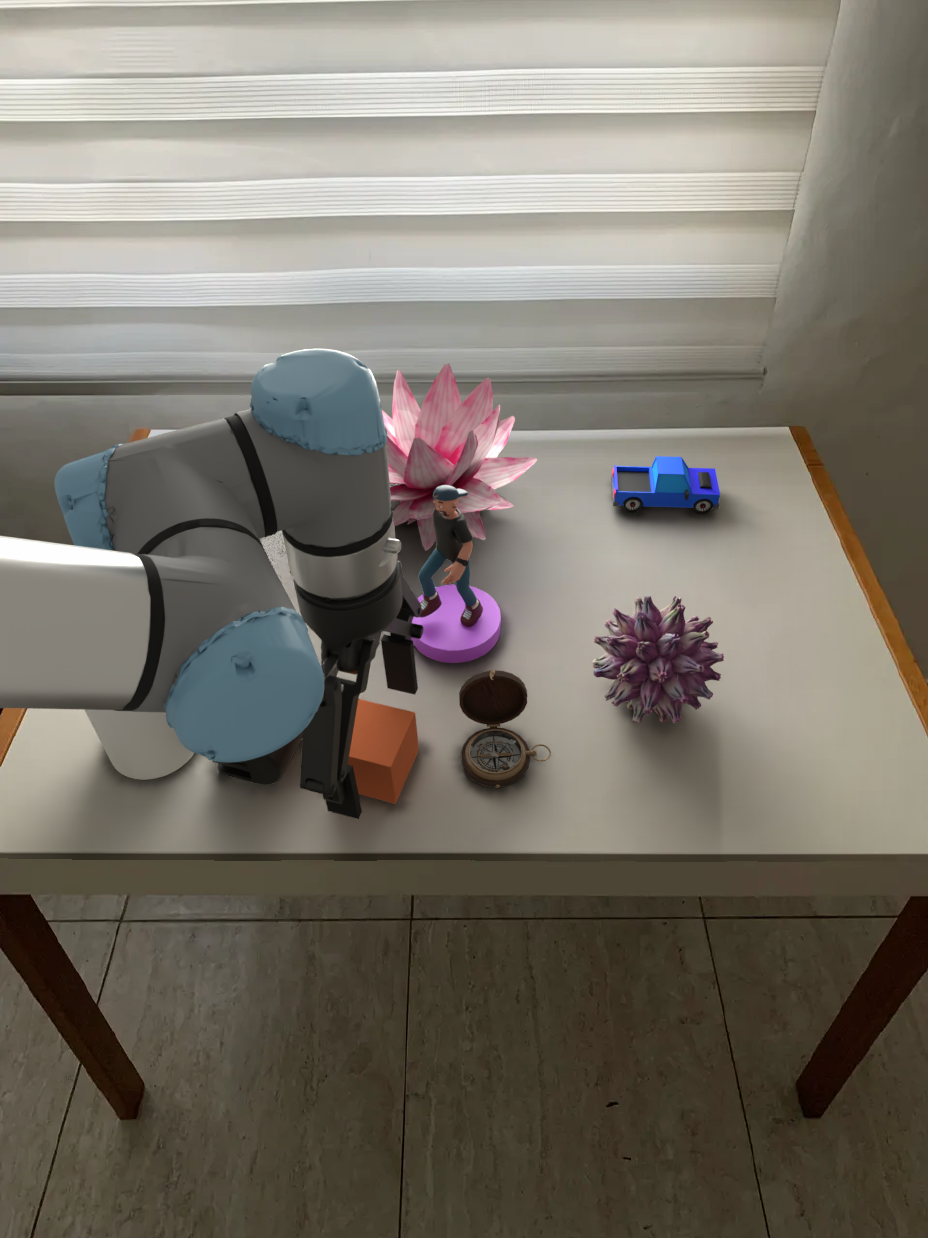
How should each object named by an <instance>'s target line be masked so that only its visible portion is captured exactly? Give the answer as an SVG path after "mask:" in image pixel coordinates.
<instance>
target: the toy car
mask: <svg viewBox="0 0 928 1238" xmlns="http://www.w3.org/2000/svg"><path fill="white" fill-rule="evenodd" d="M610 482H611V497H612V507H623V510H624V511H625V512H626V513H630V514H634V513H635V514H636V513H638V512H640V511H641V510H642V508H643V507H646V508H647V507H649V508H650V507H651V508H654V507H655V508H684V509H685V508H686V509H692V508H693V511H694V513H695V514H698V515H706V514H708V513H710V512H712V510H719V509H720V501H721V491H720V487H719V481H718V477H717V471H716V467H715V468H714V467H713V468H711V467H710V468H709V467H708V468H707V467H689V466H688V465H687V463H686V462H685V460H684V458H683V457H682V456H662V455H659V456H658V455H656V456H655V458H654V460H653V462H652V464H651V466H635V465H634V466H631V465H630V466H629V465H628V466H627V465H616V464H615V465H613V468H612V471H611V477H610Z"/></svg>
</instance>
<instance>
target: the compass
mask: <svg viewBox="0 0 928 1238" xmlns="http://www.w3.org/2000/svg"><path fill="white" fill-rule="evenodd" d="M458 701H459V708H460V710H461V712H462V714H464V716H466V717H467V718H468V719H469V720H470V721H473V722H475V723H477V724H482V725H486V728H482V729H479V730H477V731H475V732H474V733H472V735H470V736H469V737H467V739H466V741H464V742H463V745H462V749H461V751H460V753H461V765H462V768H463V771H464V772H465V773H466V775H467V776H468V778H470V779H471V780H473V782H476V783H477V784H479V785H481V786H485V787H489V788H497V789H498V788H501V787H502V788H503V787H508V786H511V785H513V784H515V783H517V782H519V780H520V779H522V778H523V777H524V776H525V774H526V773H527V771H528V770H529V766H530V762H531V758H532V759H533V760H534V761H536V762H542V763H543V762H546V761H548V760H549V759H550V758H551V756H552V751H551V749H550V747H549V746H547V745H545V744H541V743H538V744H535V745H534V746H532V747H531V748H529V746H528V744H527V741H526V740H525V739H524V738H523V737H522V736H521V735H520V734H518V733H516V732H515V731H514V730H511V729H508V728H505V727H501V725H502V724H505V723H508V722H511V721H513V720H514V719H516V718H518V717H519V716H520V715H521V714H522V713H523V712H524V711H525V709H526V707H527V704H528V690H527V687H526V685H525V682H524V681H522V679H520V677H519V676H517V675H515V674H514V673H512V672H509V671H505V670H500V669H499V670H497V669H491V670H483V671H480V672H477V673H475V674H473V675H471V676H470V677H468V678H467V679H466V680H465V681H464V682H463V684H462V685H461V687H460V689H459V692H458ZM537 747H544V748H546V750H547V751H548V752H549V754H548V756H547V757H546V758H544V759H538V758H536V757H537V755H538V754H537V750H536V749H535V748H537Z"/></svg>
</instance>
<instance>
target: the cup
mask: <svg viewBox="0 0 928 1238" xmlns="http://www.w3.org/2000/svg"><path fill="white" fill-rule="evenodd" d="M84 712H85V714H86V716H87V718H88V720H89V722H90V724H91V726H92V728H93V729H94V731H95V734H96V736H97V738H98V739H99V741H100V744H101V746H102V747H103V748H104V751H105V753H106V755H107V757H108V759H109V761H110V763H111V765H112V767H114V769H115V770H116V771H117V772H118V773H119V774H121V775H123V776H125V777H126V778H130V779H133V780H142V781H143V780H154V779H159V778H162V777H165V776H168V775H170V774H172V773H174V772H176V771H178V770H179V769H181V768H182V767H183V766H185V764H187V762H189V760H191V759H192V757H193V756H194V755H195V753H193V752H191V751H190V750H188V749H186V748H185V746H184V745H183V744H182V743H181V742H180V740H179V739H178V737H177V735H176V732H175V730H174V728H170V726H169V725H168V723H167V721H166V713H164V712H132V711H115V710H84Z"/></svg>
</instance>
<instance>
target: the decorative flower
mask: <svg viewBox="0 0 928 1238" xmlns="http://www.w3.org/2000/svg"><path fill="white" fill-rule="evenodd" d="M392 391H393V392H392V393H393V394H392V408H391V409H392V411H391V416H389V414H387V413H386V412H385V411H384V410H383V409H382V414H383V420H384V425H385V427H386V429H387V441H386V445H387V457H388V469H389V481H390V484H397V485H393V486H390V493H391V503H393V502H399V504H398V505H397V506H396V507H395V508H394V510H392V511H393V520H394V527H397V526H399V525H401V524H404V523H406V522H407V525H406V526H408V525H410V524H412V523H414V522H415V521H417V527H418V532H419V536H420V541H421V545H422V547H423V549H424V551H425V552H426V551H428V550H430V548H432V547H433V546H434V544H435V543H436V533H435V528H434V522H433V512H434V510H435V508H436V505H434V503H433V502H434V497H433V493H434V490H435V489H436V488H437V487H438V486H441V485H450V486H453V487H454V488H456V489H463V490H465V491H467V492H468V495H467V496H462V497H459V498H458V505H457V509H458V510H459V511H460V512H461V513H462V514H463V515H464V517H465V519H466V521H467V526H468V528H469V531H470V533H471V535H472V537H473V538H475V539H479V540H483V541H485V540H486V539H487V537H486V531H485V527H484V526H485V525H484V523H483V519H482V517H481V513H480V512H481V511H485V510H490V511H498V510H504V509H510V508H513V507H514V504H513V503H511V502H510V501H508V500H507V499H505V498H503V497H502V496H500V495H499V494H498V493H497V491H495V490H497V489H500V488H501V487H504V486H505V485H508V484H509V483H510V484H511V483H512V482H514V481H516V480H517V479H519V477H521V476H522V475H523V474H524V473H525V472H527V470H529V469H530V468H531V467H533V465H534V464H535V463H537V461H538V457H530V456H501V457H498V456H499V455H500V453H501V452H502V450H503V449H504V448H505V446H506V445H507V443H508V440H509V437H510V434H511V432H512V430H513V427H514V425H515V421H516V418H515V416H514V415H511V416H509V417H506V418H504V419H501V420H500V417H501V404H500V403H499V404H498V405H497V406H496V407H495V408H494V409H493V403H494V402H493V400H494V399H493V398H494V392H493V387H492V382H491V377H486V378H484V379H483V380H482V381H481V382H480V383H479V384H478V385H477V386H476V387H475V388H474V389H473V390H472V391H471V392H470V393H469V394H468V396H466V398H465V399H464V400H463V401H462V400H461V395H460V392H459V388H458V383H457V381H456V378H455V375H454V372H453V369H452V367H451V365H450V363H446V364H444V365H443V366H442V367H441V370H440V371H439V373H438V374H437V376H436V377H435V379H434V380H433V382H432V383H431V386H430V388H429V389H428V392H427V394H426V396H425V397H424V400H423V402H422V404H421V408H420V406H419V404H418V402H417V399H416V398H415V396H414V395H413V392H412V390H411V389H410V386H409V384H408V382H407V379H406V378H405V376H404V374H403V372H402V370H401V369H397V371H396V374H395V378H394V382H393V390H392Z"/></svg>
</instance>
